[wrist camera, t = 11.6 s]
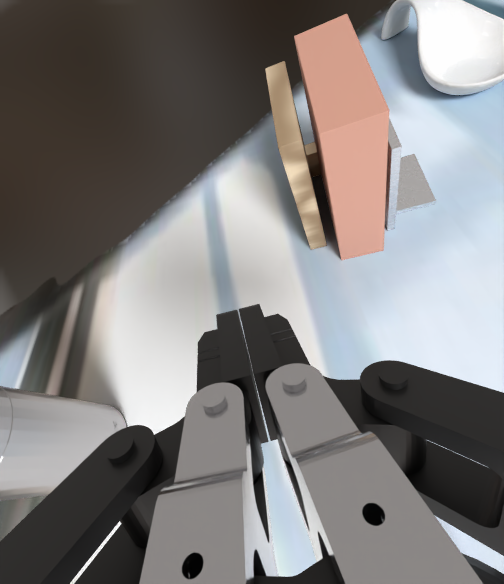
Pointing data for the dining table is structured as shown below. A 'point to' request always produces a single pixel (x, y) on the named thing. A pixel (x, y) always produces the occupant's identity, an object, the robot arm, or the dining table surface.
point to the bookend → (403, 182)
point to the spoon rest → (453, 43)
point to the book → (347, 133)
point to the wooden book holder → (295, 153)
